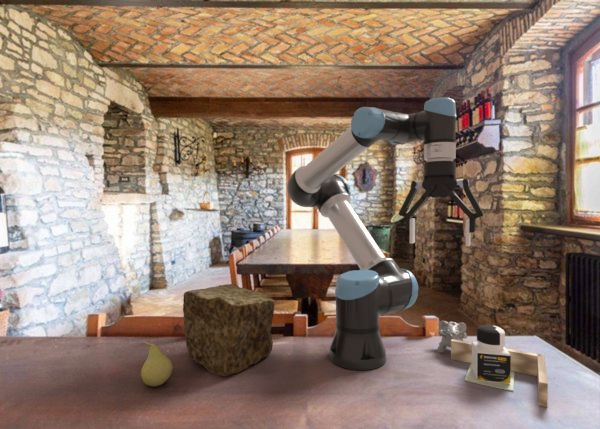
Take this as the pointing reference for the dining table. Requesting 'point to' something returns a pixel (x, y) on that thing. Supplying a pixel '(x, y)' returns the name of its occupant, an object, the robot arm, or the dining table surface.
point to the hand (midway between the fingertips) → (439, 244)
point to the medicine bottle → (491, 355)
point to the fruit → (156, 367)
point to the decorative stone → (227, 327)
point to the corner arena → (519, 363)
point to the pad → (472, 378)
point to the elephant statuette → (450, 333)
